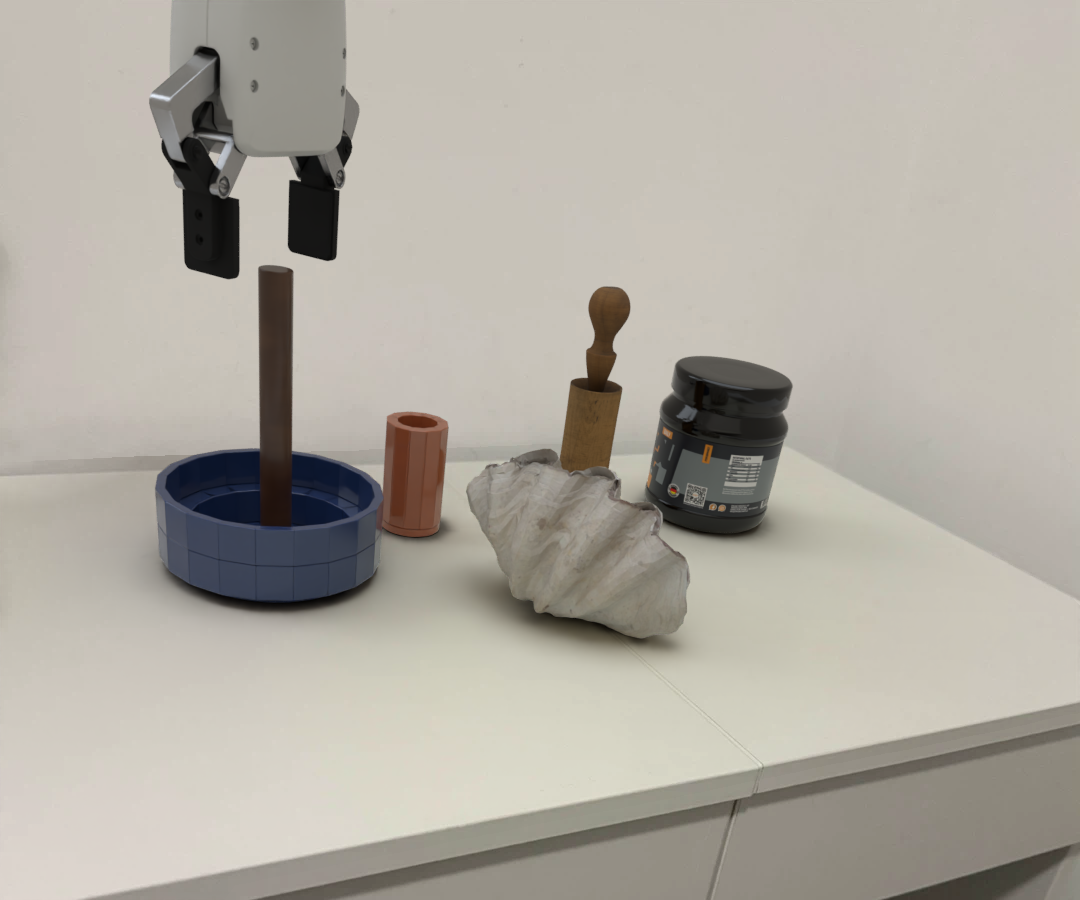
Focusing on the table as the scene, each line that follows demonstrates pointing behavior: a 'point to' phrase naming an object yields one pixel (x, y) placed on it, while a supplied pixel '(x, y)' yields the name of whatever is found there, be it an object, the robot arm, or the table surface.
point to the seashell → (580, 545)
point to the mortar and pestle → (595, 388)
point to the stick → (275, 393)
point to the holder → (414, 473)
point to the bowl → (268, 527)
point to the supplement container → (718, 444)
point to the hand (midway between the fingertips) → (265, 264)
